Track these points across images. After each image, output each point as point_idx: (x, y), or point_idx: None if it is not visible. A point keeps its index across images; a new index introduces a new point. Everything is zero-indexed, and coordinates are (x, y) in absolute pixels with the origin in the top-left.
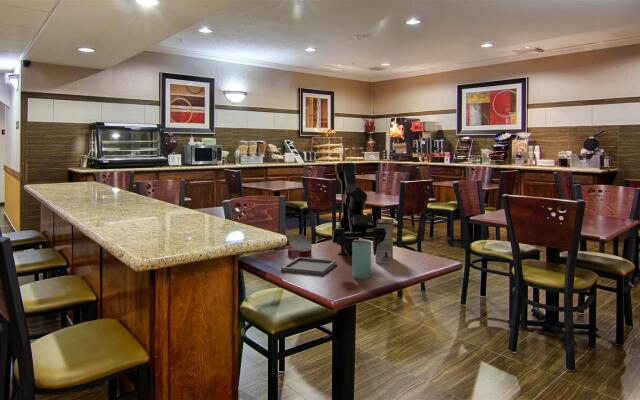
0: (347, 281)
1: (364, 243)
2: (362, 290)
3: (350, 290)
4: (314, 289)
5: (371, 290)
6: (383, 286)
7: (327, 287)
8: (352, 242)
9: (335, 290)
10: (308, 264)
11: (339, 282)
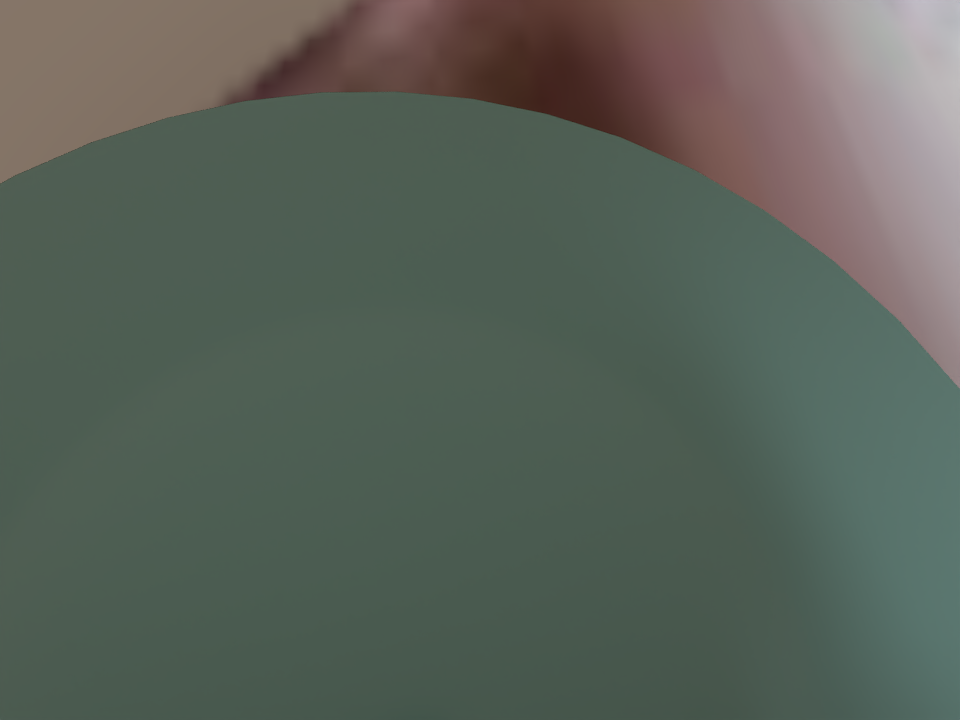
0: None
1: (96, 445)
2: (405, 50)
3: (542, 34)
4: (955, 14)
5: (300, 62)
6: None
7: (834, 89)
8: None
9: (711, 14)
10: None
11: None
